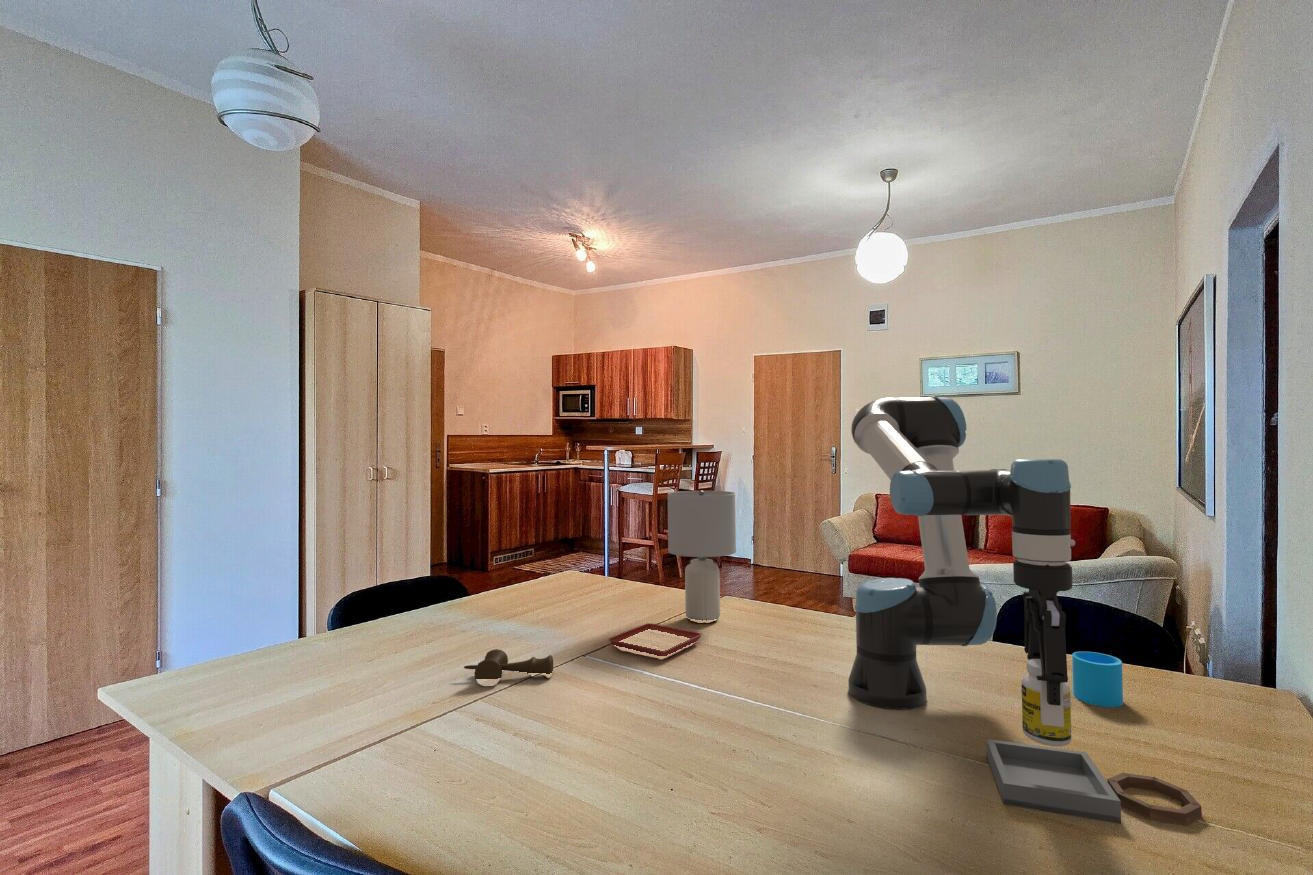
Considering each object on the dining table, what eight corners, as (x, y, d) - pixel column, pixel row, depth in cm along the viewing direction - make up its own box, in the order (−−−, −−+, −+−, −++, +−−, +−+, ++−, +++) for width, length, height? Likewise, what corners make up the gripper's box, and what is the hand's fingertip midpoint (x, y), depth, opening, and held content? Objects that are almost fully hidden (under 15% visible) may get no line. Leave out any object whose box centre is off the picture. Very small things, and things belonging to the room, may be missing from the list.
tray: (1003, 804, 87) (1003, 783, 87) (986, 757, 100) (986, 738, 100) (1121, 823, 82) (1120, 801, 82) (1086, 771, 95) (1086, 752, 95)
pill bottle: (1013, 729, 94) (1011, 657, 94) (1050, 727, 94) (1048, 656, 95) (1042, 748, 88) (1039, 671, 88) (1082, 746, 88) (1079, 670, 88)
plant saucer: (648, 633, 170) (648, 622, 170) (703, 645, 160) (703, 632, 160) (606, 651, 156) (606, 638, 156) (664, 665, 145) (664, 651, 145)
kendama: (550, 687, 133) (457, 688, 132) (555, 673, 143) (468, 673, 141) (551, 660, 133) (458, 660, 132) (555, 647, 143) (469, 647, 142)
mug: (1131, 709, 118) (1129, 666, 118) (1082, 704, 120) (1081, 663, 120) (1104, 685, 129) (1103, 647, 129) (1060, 682, 131) (1059, 644, 131)
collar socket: (1125, 815, 84) (1125, 804, 84) (1100, 779, 93) (1100, 769, 93) (1212, 829, 80) (1212, 817, 80) (1178, 791, 89) (1177, 780, 90)
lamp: (664, 628, 174) (662, 492, 175) (674, 609, 194) (672, 488, 195) (735, 630, 171) (733, 492, 171) (737, 611, 191) (736, 488, 192)
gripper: (1092, 574, 81) (1097, 748, 81) (1052, 551, 99) (1057, 694, 99) (1028, 571, 84) (1033, 740, 83) (1001, 549, 102) (1004, 688, 101)
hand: (1046, 714), depth 91 cm, fingers closed on pill bottle, 6 cm apart
